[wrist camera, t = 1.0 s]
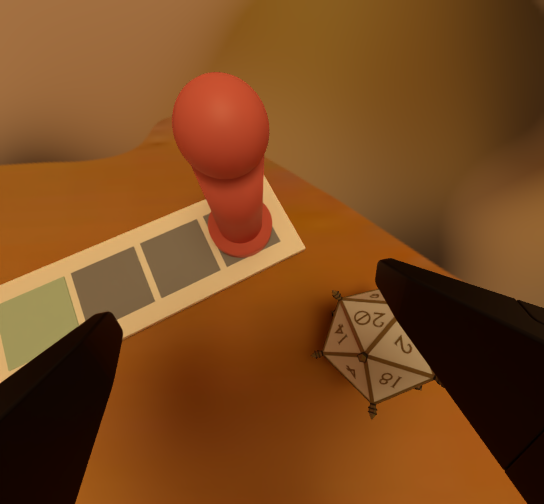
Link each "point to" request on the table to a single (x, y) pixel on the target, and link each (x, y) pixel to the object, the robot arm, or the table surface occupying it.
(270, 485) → the table surface
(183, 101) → the pawn
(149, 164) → the table surface
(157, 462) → the table surface
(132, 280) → the board
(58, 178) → the table surface
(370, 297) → the game die
